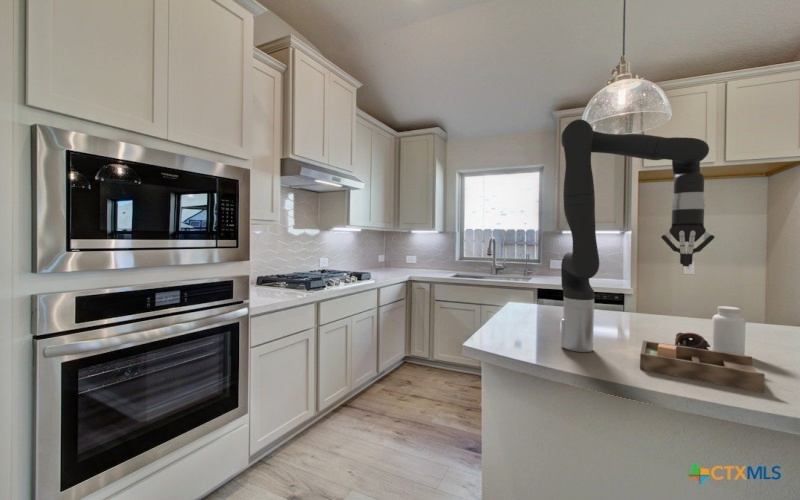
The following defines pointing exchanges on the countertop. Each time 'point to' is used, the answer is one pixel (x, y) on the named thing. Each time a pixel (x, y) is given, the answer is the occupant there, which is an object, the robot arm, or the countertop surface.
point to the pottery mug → (691, 341)
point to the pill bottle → (728, 331)
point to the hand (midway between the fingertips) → (685, 266)
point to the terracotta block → (667, 350)
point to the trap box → (704, 366)
